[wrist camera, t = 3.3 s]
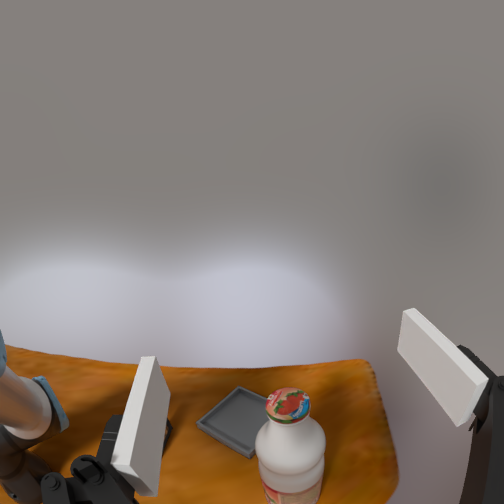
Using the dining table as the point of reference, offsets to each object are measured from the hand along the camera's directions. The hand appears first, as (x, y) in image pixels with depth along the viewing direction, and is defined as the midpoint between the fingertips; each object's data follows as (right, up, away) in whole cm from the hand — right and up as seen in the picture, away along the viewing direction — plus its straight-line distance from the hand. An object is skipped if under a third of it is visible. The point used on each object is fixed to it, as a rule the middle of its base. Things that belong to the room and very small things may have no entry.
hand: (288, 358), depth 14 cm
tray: (-3, -32, +43) cm, 53 cm away
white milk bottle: (+5, -37, +24) cm, 45 cm away
